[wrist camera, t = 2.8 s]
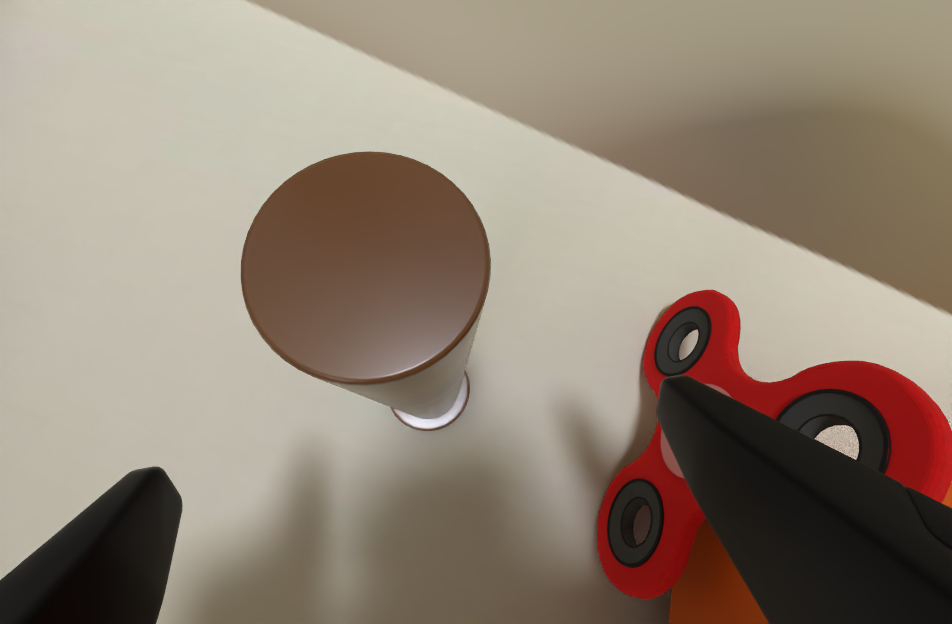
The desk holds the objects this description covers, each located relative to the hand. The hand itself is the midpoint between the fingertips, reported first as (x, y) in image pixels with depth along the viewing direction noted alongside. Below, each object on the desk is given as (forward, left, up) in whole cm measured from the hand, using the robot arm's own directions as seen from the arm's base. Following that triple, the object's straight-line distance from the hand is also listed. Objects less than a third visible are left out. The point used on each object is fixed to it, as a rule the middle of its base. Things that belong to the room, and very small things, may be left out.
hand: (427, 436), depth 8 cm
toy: (-1, -9, -4) cm, 10 cm away
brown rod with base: (+2, 0, -9) cm, 9 cm away
